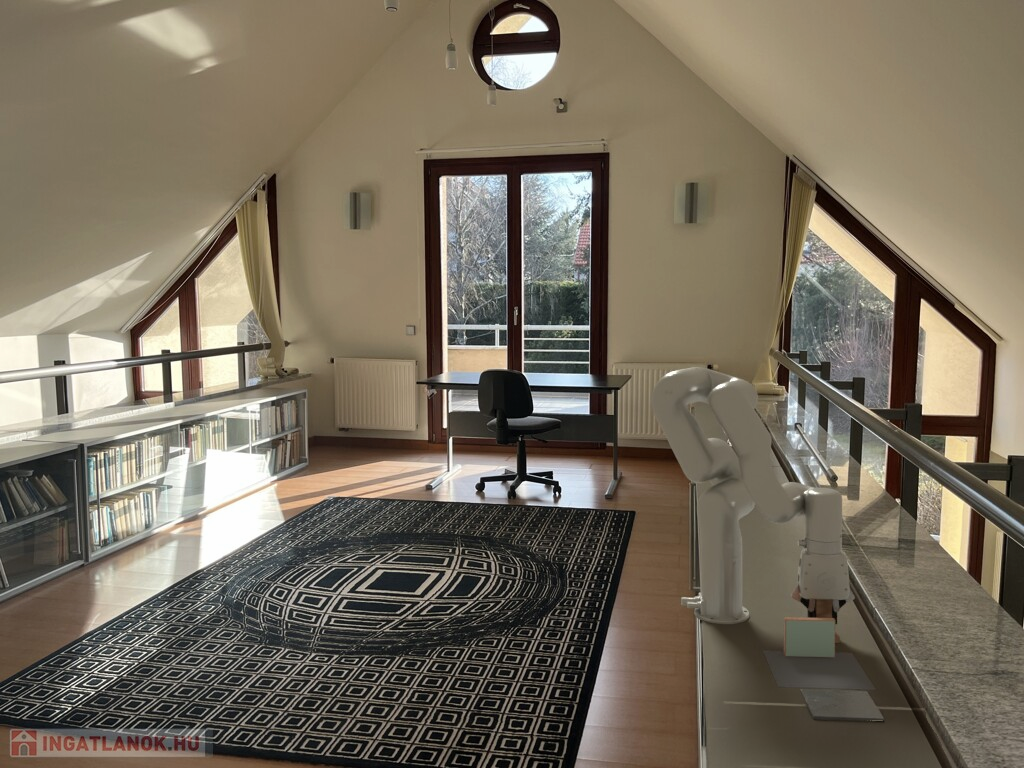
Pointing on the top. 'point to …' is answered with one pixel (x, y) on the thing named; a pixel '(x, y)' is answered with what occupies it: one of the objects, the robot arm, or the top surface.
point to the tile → (809, 637)
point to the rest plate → (841, 705)
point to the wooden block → (825, 612)
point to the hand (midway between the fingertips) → (822, 626)
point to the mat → (818, 671)
